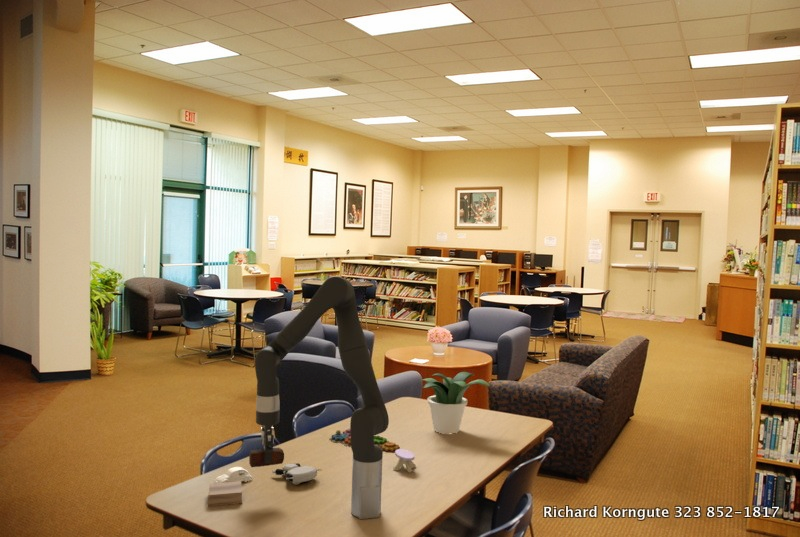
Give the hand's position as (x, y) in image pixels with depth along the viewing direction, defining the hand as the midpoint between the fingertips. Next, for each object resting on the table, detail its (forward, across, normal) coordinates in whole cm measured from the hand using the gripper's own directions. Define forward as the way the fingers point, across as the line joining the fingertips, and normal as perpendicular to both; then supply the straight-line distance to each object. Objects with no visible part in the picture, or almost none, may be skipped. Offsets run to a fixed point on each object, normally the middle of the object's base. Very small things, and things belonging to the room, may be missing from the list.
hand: (267, 460), depth 197 cm
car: (+12, +15, +10) cm, 22 cm away
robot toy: (+12, +13, -11) cm, 21 cm away
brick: (+1, 0, 0) cm, 1 cm away
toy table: (+13, +14, -52) cm, 55 cm away
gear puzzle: (+12, +44, -45) cm, 64 cm away
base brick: (+12, +1, +13) cm, 18 cm away
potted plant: (+12, +53, -87) cm, 102 cm away
